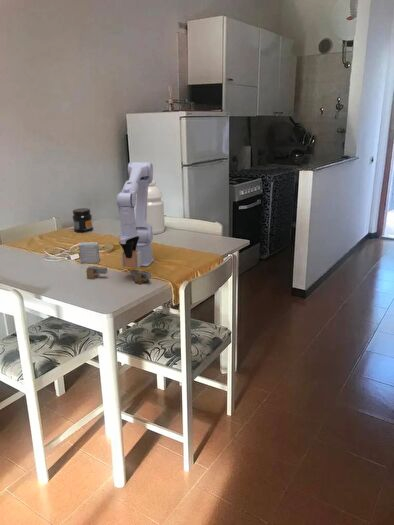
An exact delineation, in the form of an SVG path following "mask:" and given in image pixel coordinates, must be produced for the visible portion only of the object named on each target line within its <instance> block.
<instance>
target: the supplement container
mask: <svg viewBox="0 0 394 525" xmlns="http://www.w3.org/2000/svg"><path fill="white" fill-rule="evenodd" d="M92 217H93V215H92V214H91V209H90V208H87V207H81V208H75V209H73V210H72V221H73V222H72V223H73V231H75V232H76V233H81V234H83V233H89V232H91V231H93V230H94V226H93V225H94V224H93V219H92Z"/></svg>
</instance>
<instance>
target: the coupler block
mask: <svg viewBox="0 0 394 525" xmlns="http://www.w3.org/2000/svg"><path fill="white" fill-rule="evenodd" d="M120 256H121V267H122V268H132V269H139V268H141V267H142V266H141V265H142V264H141V251H134V250H132V258H126V256H125V253H124V250H122V251H121V253H120Z"/></svg>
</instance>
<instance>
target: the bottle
mask: <svg viewBox="0 0 394 525" xmlns="http://www.w3.org/2000/svg"><path fill="white" fill-rule="evenodd" d="M156 184H157V183H156V180H152V183H150V184H149V186H148V197H147V218H146V222H147V223H149V224H150V225H151V226H152V232H153V235H158V234H162V233H164V232H165V229H166V227H165V212H164V207H165V205H164V201H163V200H162V198H163V194H162V193H163V192H162V191H161V190H160V188H159V187H158V186H157V185H156Z"/></svg>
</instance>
